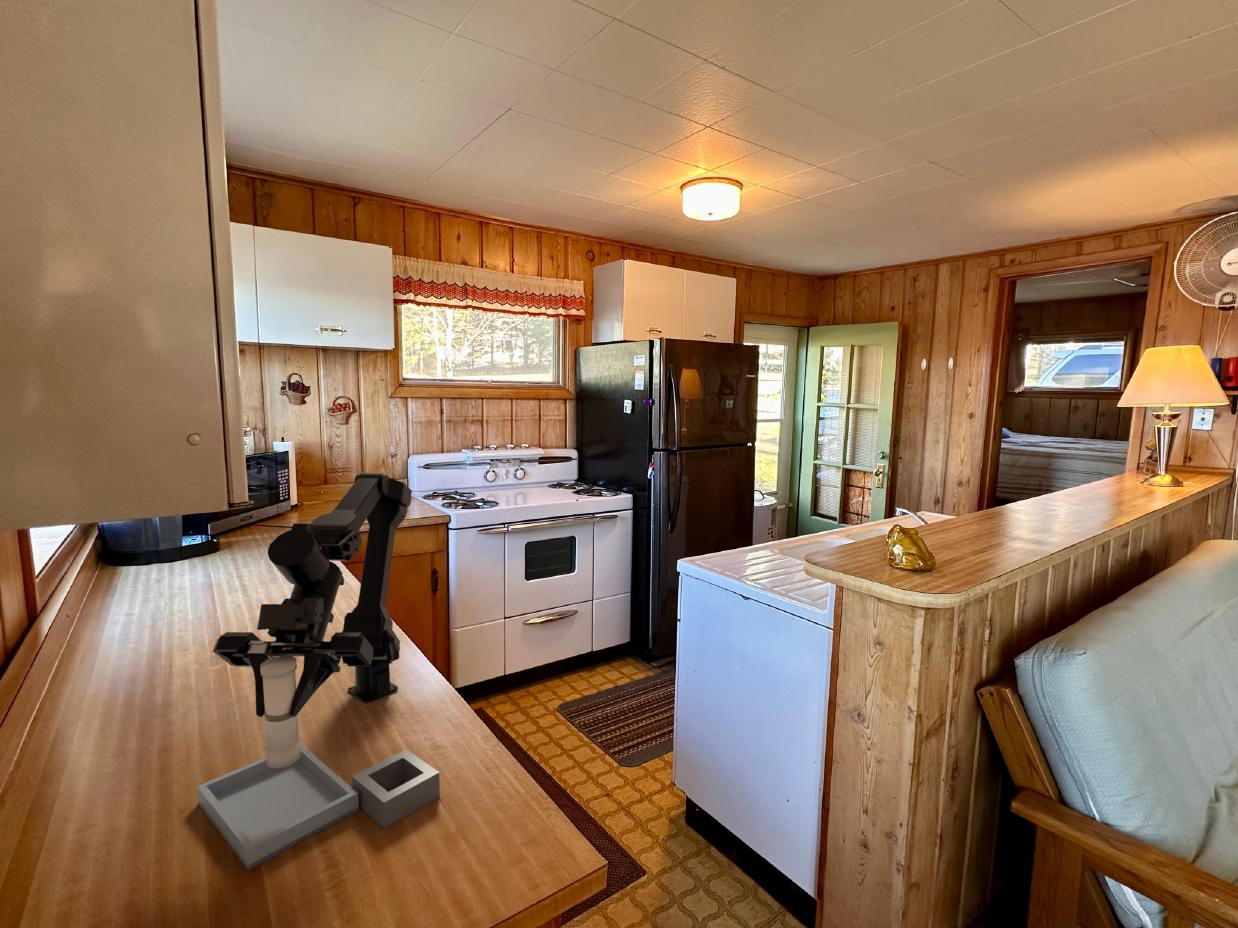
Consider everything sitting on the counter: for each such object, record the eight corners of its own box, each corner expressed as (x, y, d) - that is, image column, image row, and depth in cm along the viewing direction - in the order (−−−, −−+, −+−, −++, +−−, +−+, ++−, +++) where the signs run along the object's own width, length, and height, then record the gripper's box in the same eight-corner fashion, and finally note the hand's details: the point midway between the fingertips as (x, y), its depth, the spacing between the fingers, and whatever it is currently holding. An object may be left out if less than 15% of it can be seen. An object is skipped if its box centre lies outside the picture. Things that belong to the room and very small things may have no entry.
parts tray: (198, 803, 80) (196, 785, 79) (300, 758, 90) (300, 742, 89) (248, 869, 69) (247, 849, 69) (358, 810, 79) (358, 792, 79)
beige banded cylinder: (267, 753, 79) (261, 659, 78) (301, 746, 81) (297, 653, 79) (264, 771, 76) (258, 672, 74) (300, 763, 78) (295, 666, 76)
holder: (352, 800, 81) (352, 775, 81) (407, 771, 87) (406, 749, 87) (384, 828, 76) (383, 802, 76) (439, 796, 82) (439, 772, 82)
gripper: (217, 573, 79) (163, 696, 70) (362, 574, 80) (329, 695, 70) (253, 609, 88) (211, 723, 78) (384, 610, 89) (358, 722, 79)
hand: (275, 716), depth 76 cm, fingers closed on beige banded cylinder, 4 cm apart
